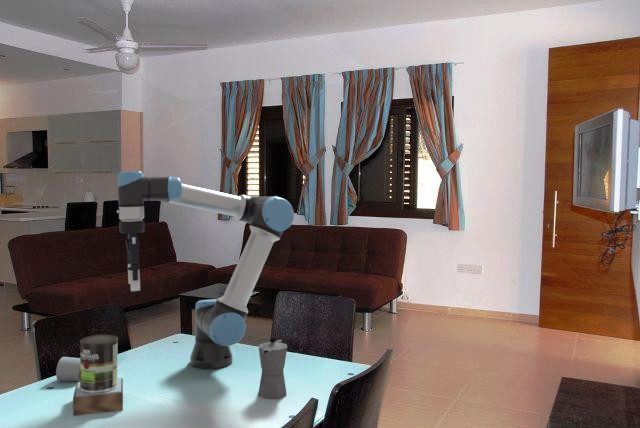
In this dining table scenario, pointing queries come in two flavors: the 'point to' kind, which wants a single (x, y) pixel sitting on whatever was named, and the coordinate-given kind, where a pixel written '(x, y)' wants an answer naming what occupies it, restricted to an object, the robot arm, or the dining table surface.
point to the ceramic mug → (68, 369)
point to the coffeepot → (272, 369)
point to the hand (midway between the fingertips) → (134, 287)
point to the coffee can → (98, 363)
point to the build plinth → (98, 400)
